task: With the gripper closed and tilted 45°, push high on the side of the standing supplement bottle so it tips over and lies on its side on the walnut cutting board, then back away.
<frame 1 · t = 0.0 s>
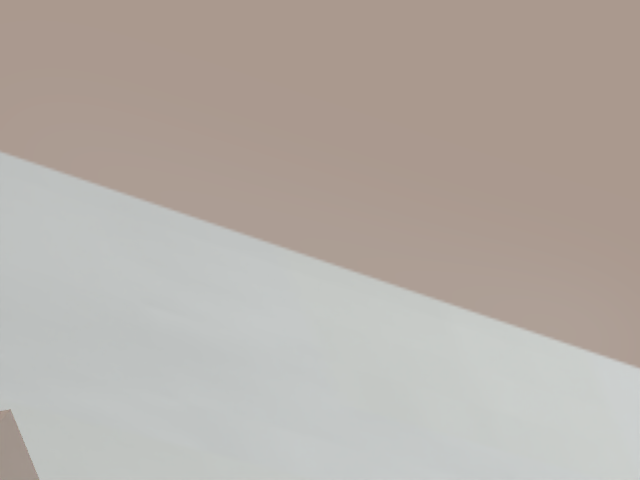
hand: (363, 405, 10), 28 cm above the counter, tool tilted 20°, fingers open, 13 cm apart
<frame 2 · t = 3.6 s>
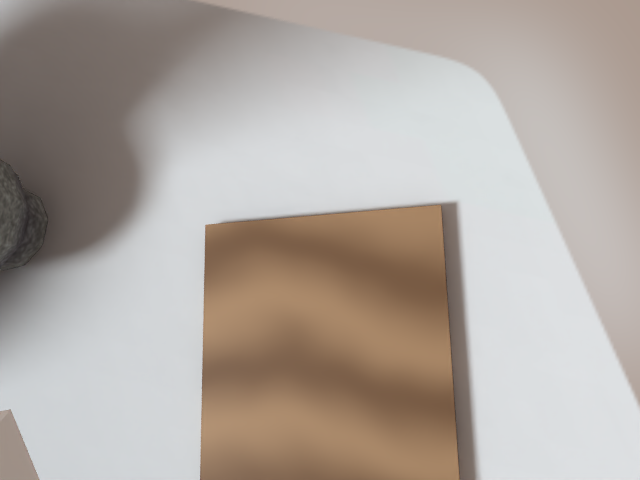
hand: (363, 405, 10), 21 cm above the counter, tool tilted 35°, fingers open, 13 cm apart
mortar and pestle: (17, 220, 40), on the counter
cutting board: (323, 381, 32), on the counter
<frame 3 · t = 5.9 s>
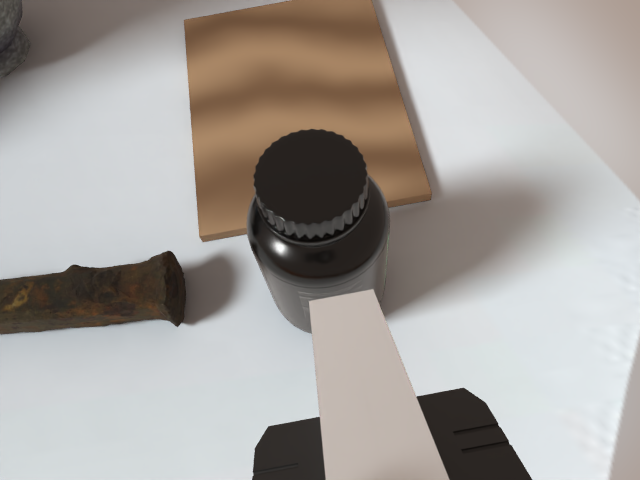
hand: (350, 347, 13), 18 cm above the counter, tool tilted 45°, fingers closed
supplement bottle: (328, 285, 33), on the counter
hand tool: (42, 325, 34), on the counter
cutting board: (294, 104, 39), on the counter
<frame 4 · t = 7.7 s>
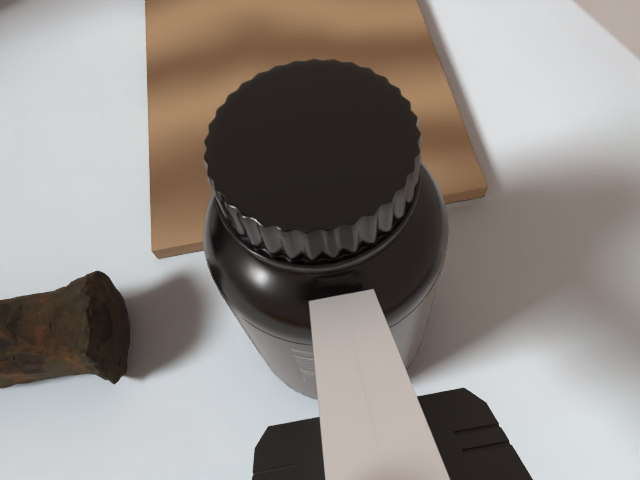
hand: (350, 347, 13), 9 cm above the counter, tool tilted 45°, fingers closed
supplement bottle: (339, 322, 22), on the counter, touching gripper
cutting board: (289, 68, 29), on the counter
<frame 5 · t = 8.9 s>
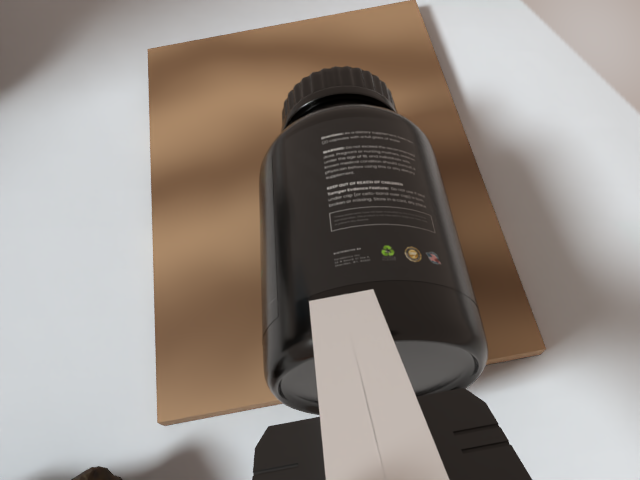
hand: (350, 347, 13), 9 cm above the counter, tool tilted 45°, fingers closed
supplement bottle: (379, 391, 16), point 5 cm above the counter, touching cutting board
cutting board: (312, 181, 26), on the counter
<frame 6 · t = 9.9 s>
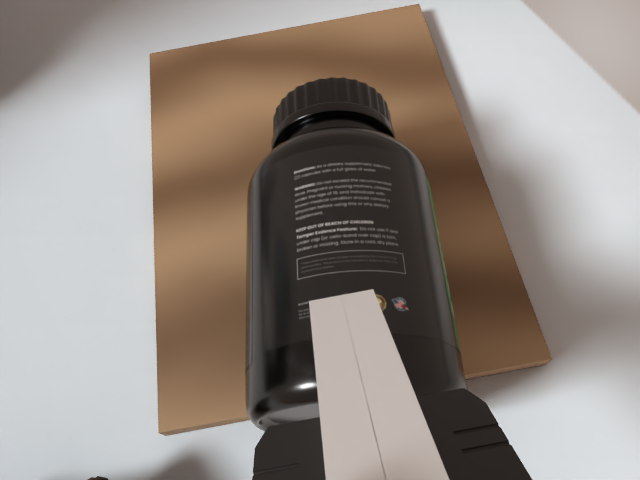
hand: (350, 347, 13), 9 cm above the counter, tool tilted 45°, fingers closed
supplement bottle: (357, 427, 16), point 4 cm above the counter, touching cutting board
cutting board: (314, 187, 25), on the counter
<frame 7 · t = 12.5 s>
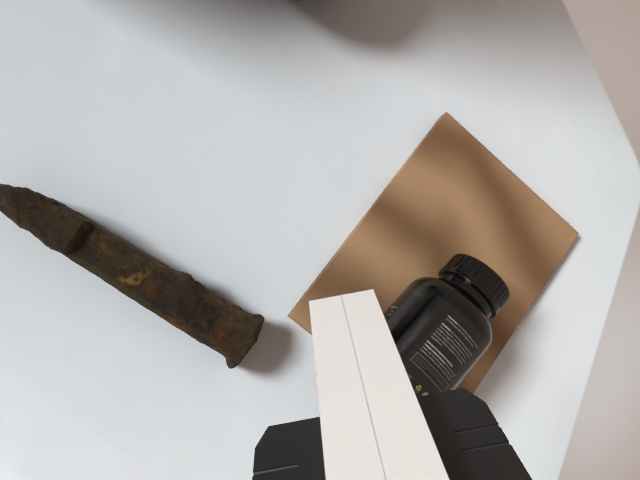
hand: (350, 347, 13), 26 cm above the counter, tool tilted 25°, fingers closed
supplement bottle: (369, 407, 36), point 4 cm above the counter, touching cutting board
hand tool: (128, 275, 37), on the counter
cutting board: (440, 271, 42), on the counter
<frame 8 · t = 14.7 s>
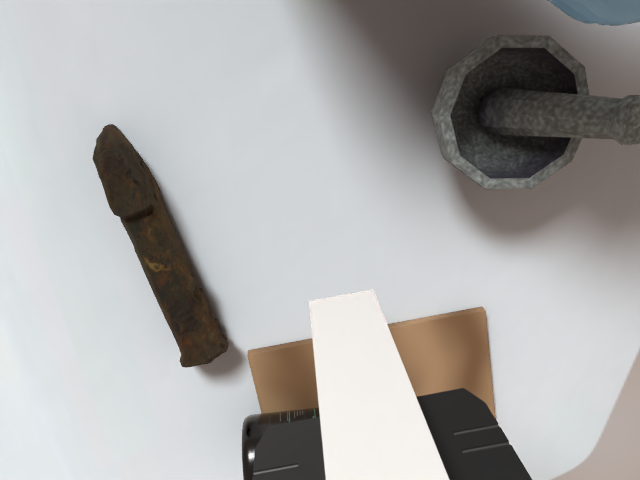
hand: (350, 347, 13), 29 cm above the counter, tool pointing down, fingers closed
mortar and pestle: (487, 108, 41), on the counter
supplement bottle: (244, 460, 43), point 4 cm above the counter, touching cutting board
hand tool: (160, 243, 42), on the counter
cutting board: (377, 404, 47), on the counter
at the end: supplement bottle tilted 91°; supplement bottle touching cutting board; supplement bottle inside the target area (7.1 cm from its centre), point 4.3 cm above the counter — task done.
